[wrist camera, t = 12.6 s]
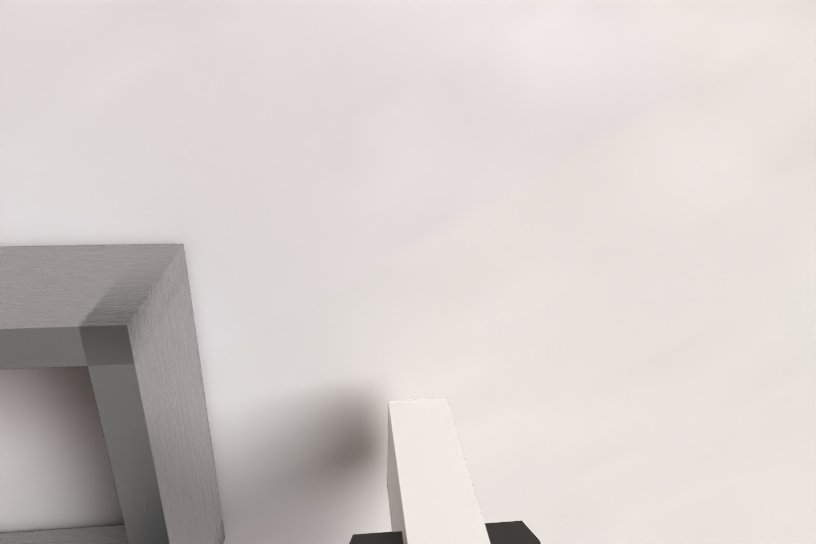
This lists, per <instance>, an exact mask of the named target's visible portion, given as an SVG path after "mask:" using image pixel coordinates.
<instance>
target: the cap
mask: <svg viewBox="0 0 816 544" xmlns="http://www.w3.org/2000/svg"><path fill="white" fill-rule="evenodd" d="M73 366H88V370H89V374H90V379H91V383H92V387H93V391H94V396H95V400H96V404H97V408H98V413H99V417H100V421H101V425H102V430H103V434H104V438H105V443H106V447H107V451H108V455H109V460H110V464H111V468H112V472H113V477H114V481H115V485H116V489H117V494H118V498H119V502H120V506H121V511H122V515H123V519H124V523H125V525H114V526H100V527H86V528H72V529H58V530H43V531H29V532H15V533H1V534H0V544H223V543H224V538H225V536H224V528H223V521H222V514H221V507H220V500H219V493H218V486H217V479H216V472H215V465H214V457H213V450H212V443H211V436H210V429H209V422H208V415H207V408H206V401H205V394H204V387H203V379H202V372H201V365H200V358H199V351H198V344H197V337H196V330H195V323H194V316H193V308H192V301H191V294H190V287H189V280H188V273H187V266H186V259H185V252H184V245H183V244H139V245H75V246H11V247H0V369H22V368H48V367H73Z"/></svg>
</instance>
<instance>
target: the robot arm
mask: <svg viewBox="0 0 816 544" xmlns="http://www.w3.org/2000/svg"><path fill="white" fill-rule="evenodd" d="M387 489H388V498H389V507H390V516H391V526H392V532H383V533H370V534H356V535H353V536H352V539H351V541H350V543H349V544H541V543H540V541H539V540H538V538H537V537H536V536H535V535H534V534H533V533H532V532H531V531H530V530H529V528H528V527H527V526H526V525H525V524H524V523H523V522H522V521H513V522H499V523H484V520H483V516H482V513H481V510H480V506H479V503H478V500H477V496H476V493H475V489H474V486H473V483H472V479H471V476H470V473H469V469H468V466H467V462H466V459H465V456H464V452H463V449H462V446H461V442H460V439H459V436H458V432H457V429H456V425H455V422H454V419H453V415H452V412H451V409H450V405H449V402H448V398H432V399H411V400H389V401H388V455H387Z"/></svg>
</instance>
